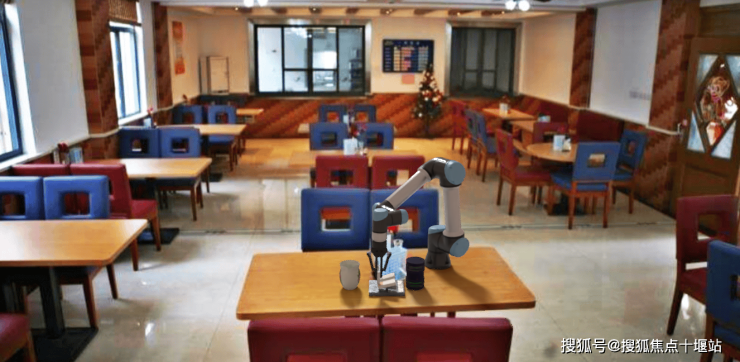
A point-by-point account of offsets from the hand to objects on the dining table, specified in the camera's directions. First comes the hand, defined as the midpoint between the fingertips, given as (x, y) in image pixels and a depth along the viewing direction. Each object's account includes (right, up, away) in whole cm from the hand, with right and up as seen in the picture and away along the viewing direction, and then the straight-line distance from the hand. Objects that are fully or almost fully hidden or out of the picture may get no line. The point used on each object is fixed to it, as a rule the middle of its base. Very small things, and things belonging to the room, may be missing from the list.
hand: (378, 283), depth 291 cm
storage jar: (+19, -3, +9) cm, 21 cm away
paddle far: (+4, +2, +7) cm, 9 cm away
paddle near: (+4, 0, 0) cm, 4 cm away
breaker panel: (+4, -4, +5) cm, 8 cm away
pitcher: (-15, -3, +9) cm, 18 cm away
